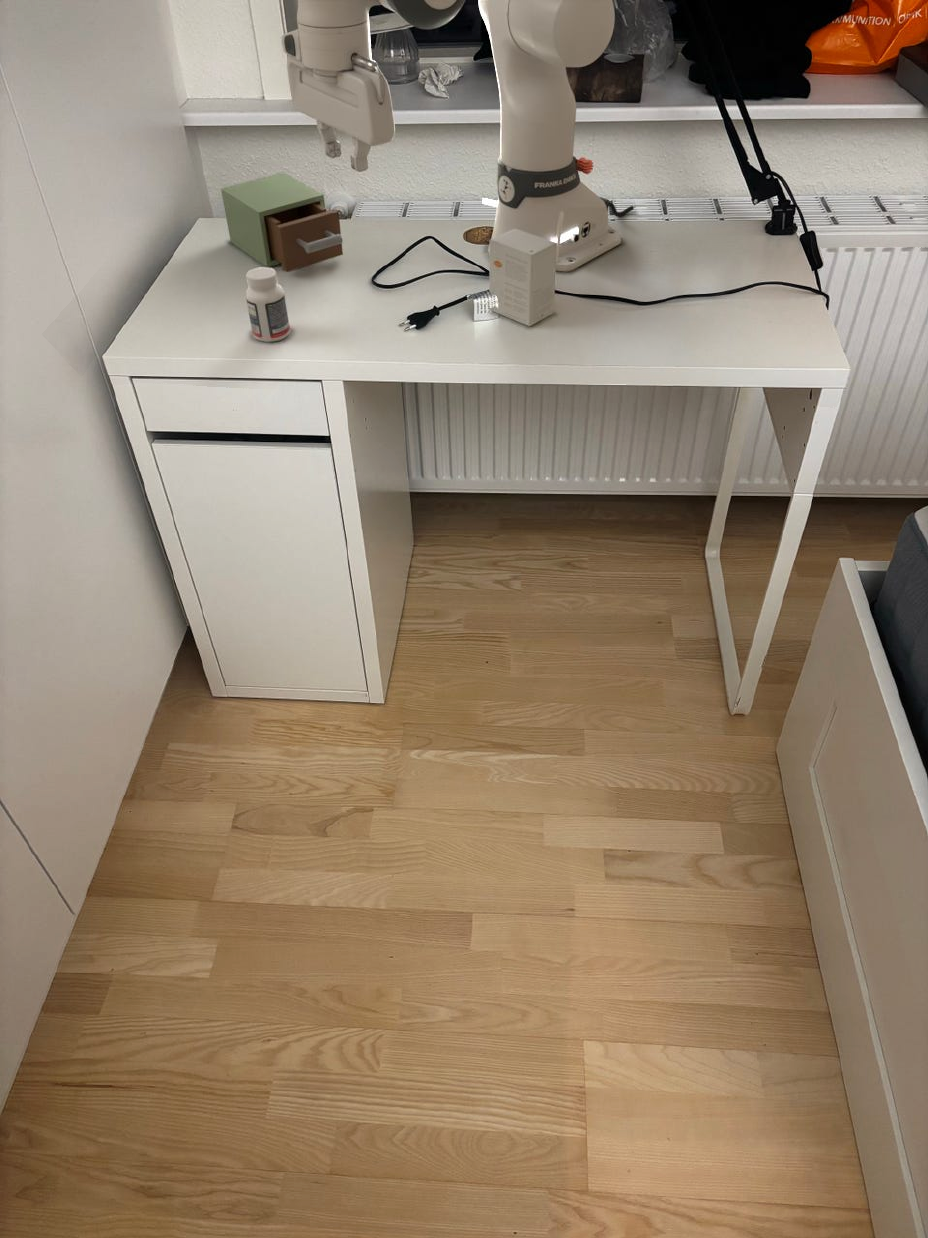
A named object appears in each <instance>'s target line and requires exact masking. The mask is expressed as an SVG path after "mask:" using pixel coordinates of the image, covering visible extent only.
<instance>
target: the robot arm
mask: <svg viewBox="0 0 928 1238" xmlns="http://www.w3.org/2000/svg"><path fill="white" fill-rule="evenodd" d="M465 2H466V0H297V12H296V23H297V28H296V29H295V30H291V31H289V32H286V33H283V34H282V35H281V47H282V51H283V53H284V54H285V55H287V57H286V71H287V78H288V85H289V90H290V91H289V92H290V96H291V100H292V102H293V104H294V106H295V109H296V111H297V112H298V113H301V114H303V115H305V116H308V117H309V118H312V119H314V120H316V127H317V130H318V133H319V135H320V137H321V140H322V143H323V147H324V154H325V156H326V157H328V158H331V159H336V158H339V157H341V155H342V150H341V149H342V146H341V142H340V141H338V138H337V134H336V131H335V130H337V131H339V132H341V133H343V134H345V135H347V136H350V137H351V142H352V145H353V146H354V150H353V151H354V152H353V154H352V155H350V156H349V158H350V167H351V169H352V170H354V171H356V172H358V173H362V172H365V171H367V170H368V168H369V162H368V161H369V160H368V156H369V153H370V151H371V148H372V147H376V146H381V145H385V144H388V143H390V142H392V141H393V139H394V137H395V133H396V125H395V116H394V110H393V109H394V108H393V102H392V95H391V90H390V86H389V83H388V81H387V79H386V77H385V75H384V73H382V71H381V69H380V68H379V65H378V63H377V62H376V61H375V60H373V57H372V48H371V47H372V44H371V31H370V30H371V27H370V16H369V15H370V14H369V12H370V9H371V8H372V7H374V6H381V5H382V6H383V7H384V8H386V9H388V10H390V11H392V12H394V13H396V14H397V15H398V16H399V17H400V18H402V19H403V20H404V21H405V22H407V24H409V25H411V26H413V27H415V28H417V29H421V30H434V29H437V28H440V27H442V26H444V25H446V24H448V23H449V22H450V21H451V20H453V19H454V18H455V17H456V16H457V15H458V13H459V12H460V11H461V9H462V8H463V6H464V5H465ZM478 8H479V13H480V16H481V17H482V19H483V21H484V24H485V26H486V30H487V32H488V35H489V40H490V45H491V51H492V56H493V62H494V67H495V74H496V81H497V86H498V92H499V93H498V94H499V103H500V104H499V105H500V145H499V146H500V152H499V153H500V155H499V156H498V158H497V163H496V186H497V187H496V188H497V195H498V196H497V200H494V199H490V198H485V197H483V198H482V204H483V205H488V206H491V207H496V210H495V216H494V223H493V229H492V234H491V237H490V238H491V239H492V238H495V237H497V236H499V235H501V234H504V233H506V232H508V231H510V230H513V229H518V230H521V231H524V232H527V233H530V234H533V235H536V236H539V237H542V238H544V239H547V240H550V241H553V242H556V243H557V252H556V271H560V272H571V271H574V270H575V269H577V268H579V267H581V266H582V265H585V264H586V263H588V262H590V261H591V260H594V259H595V258H597V257H599V256H601V255H603V254H604V253H606V252H608V251H610V250H611V249H613V248H615V247H617V246H618V245H620V244H621V243H622V236H621V235H620V233H619V232H618V231H617V230H616V229H614V228H613V227H612V226H610V225H609V208H610V209H611V213H612V214H613V215H614V216H615V217H618V218H620V217H623V216H625V215H627V214H629V213H630V212H632V211H633V210H635V206H633V205H631V206H628V207H627V208H625V209H623V210H622V211H617V208H616V206H615V204H614V203H612V202H611V201H610V200H609V199H608V198H604V197H601V196H599V195H597V194H596V193H595V192H594V191H593V190H592V189H590V187H588V186H587V185H586V184H584V182H582V181H581V178H580V174H579V172H582V173H583V174H585V175H589V174H591V173H592V171H593V169H594V162H593V160H591V159H588V158H585V157H580V158H579V159H578V158H577V157H576V156H574V149H575V148H574V147H575V136H576V135H575V134H576V119H577V118H576V117H577V101H576V97H575V94H574V92H573V90H572V88H571V85H570V81H569V78H568V74H567V69H566V68H582V67H586V66H588V65H589V66H590V65H591V64H592V63H594V62H595V61H596V60H597V59H599V58H600V57H601V56H602V55H603V53H604V52H605V50H607V49H606V48H607V47H608V46H609V43H610V41H611V38H612V37H613V32H614V29H615V23H616V21H615V20H616V16H615V15H616V14H615V6H614V0H478ZM489 247H490V245H489V246H488V248H487V252H488V253H489Z"/></svg>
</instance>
